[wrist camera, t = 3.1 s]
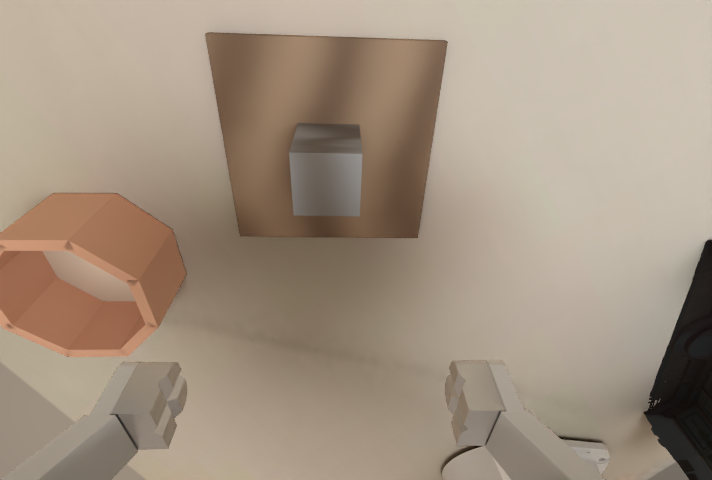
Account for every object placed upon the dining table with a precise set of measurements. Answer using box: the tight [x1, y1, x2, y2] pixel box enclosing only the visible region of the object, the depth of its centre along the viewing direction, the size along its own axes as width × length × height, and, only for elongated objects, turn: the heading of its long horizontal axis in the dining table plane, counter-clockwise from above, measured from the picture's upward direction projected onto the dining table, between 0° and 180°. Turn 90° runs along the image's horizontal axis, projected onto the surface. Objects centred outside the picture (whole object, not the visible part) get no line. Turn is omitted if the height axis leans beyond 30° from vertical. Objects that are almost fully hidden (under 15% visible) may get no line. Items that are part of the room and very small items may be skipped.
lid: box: [205, 32, 448, 238], centre depth 24 cm, size 14×14×6 cm
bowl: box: [0, 193, 186, 357], centre depth 29 cm, size 11×11×6 cm
